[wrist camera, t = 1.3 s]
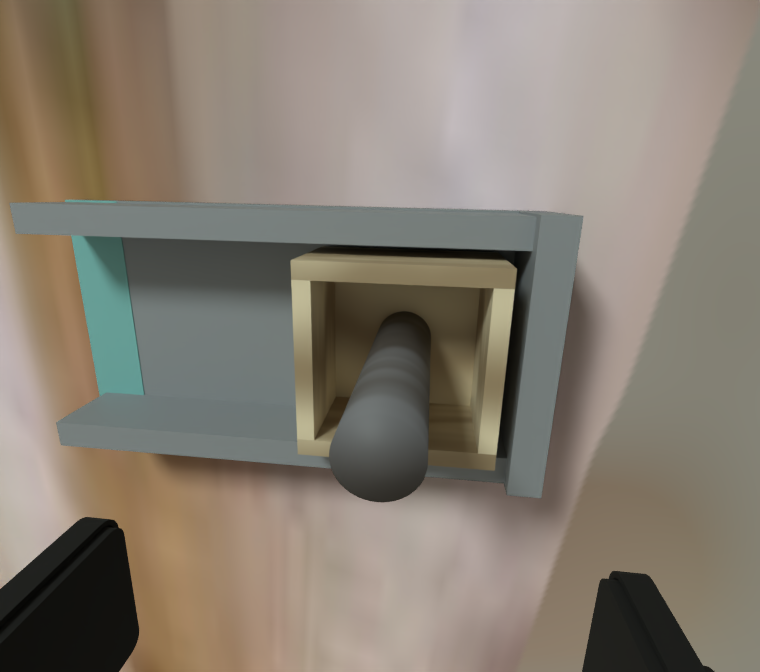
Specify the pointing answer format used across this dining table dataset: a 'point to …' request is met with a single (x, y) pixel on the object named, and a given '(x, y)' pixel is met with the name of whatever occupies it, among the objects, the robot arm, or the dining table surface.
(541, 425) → the bay
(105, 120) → the dining table surface
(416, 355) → the crate
